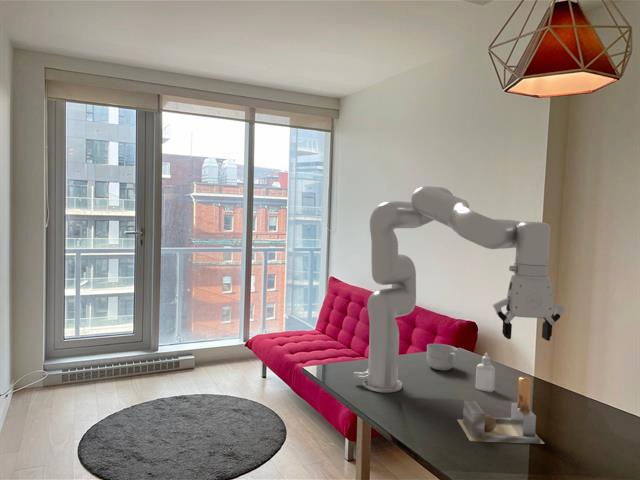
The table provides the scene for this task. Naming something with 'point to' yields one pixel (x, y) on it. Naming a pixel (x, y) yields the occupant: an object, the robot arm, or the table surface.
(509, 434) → the board
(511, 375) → the table surface
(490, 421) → the walnut
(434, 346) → the teacup
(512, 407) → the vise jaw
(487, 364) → the eye dropper bottle
